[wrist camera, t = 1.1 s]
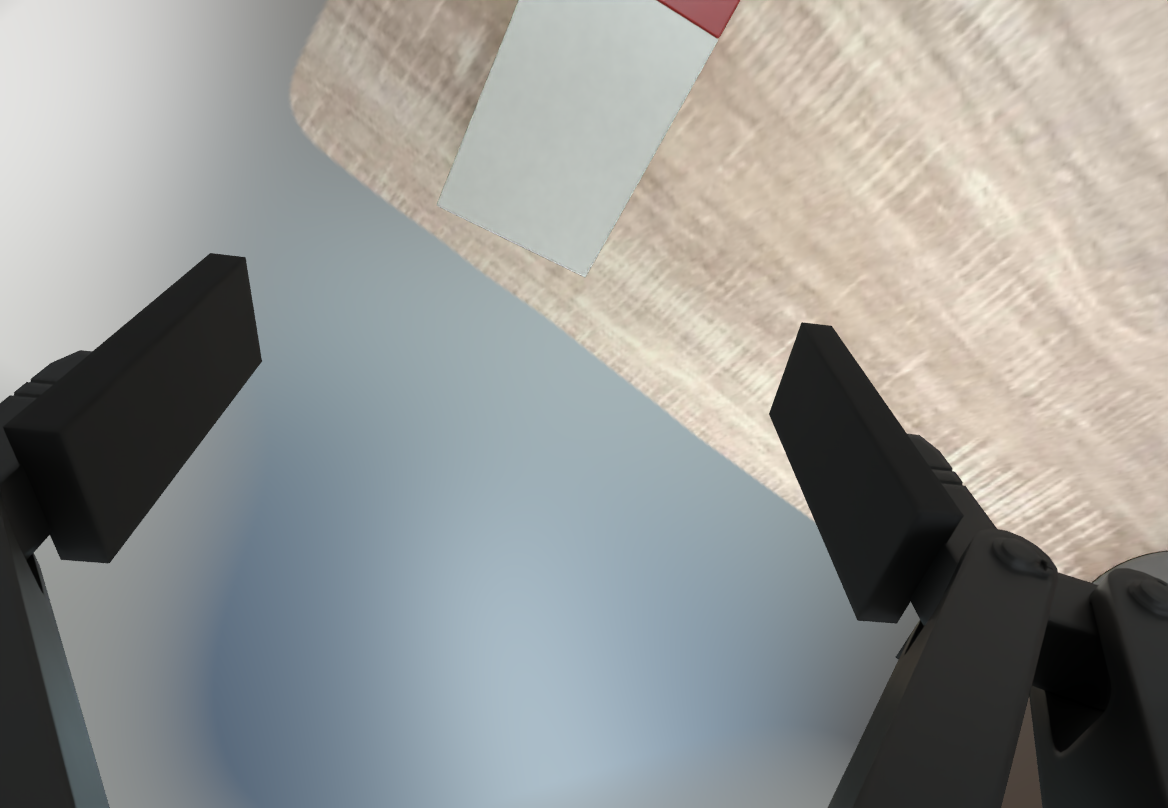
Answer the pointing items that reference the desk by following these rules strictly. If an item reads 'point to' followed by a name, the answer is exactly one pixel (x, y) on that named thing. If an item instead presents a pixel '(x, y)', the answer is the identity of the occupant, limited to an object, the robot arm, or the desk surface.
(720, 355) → the desk surface
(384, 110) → the desk surface
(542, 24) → the container
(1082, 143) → the desk surface
